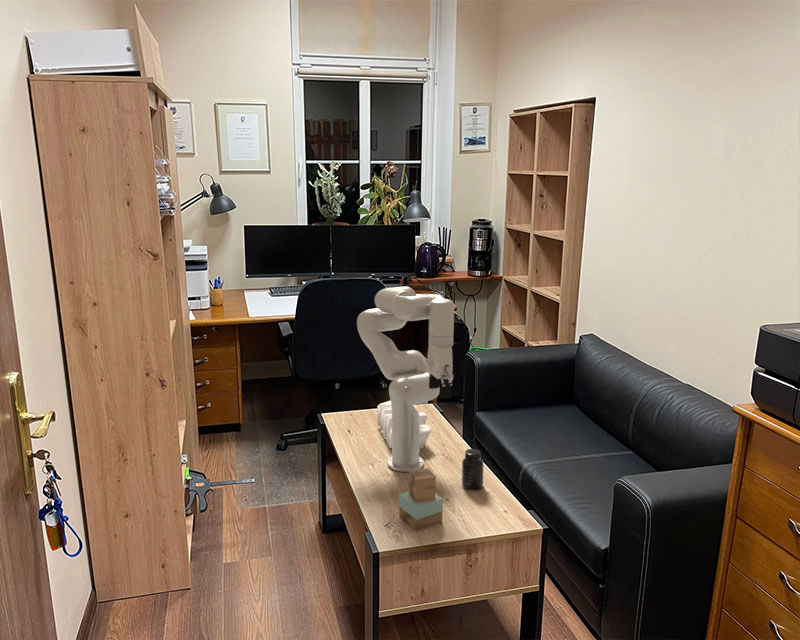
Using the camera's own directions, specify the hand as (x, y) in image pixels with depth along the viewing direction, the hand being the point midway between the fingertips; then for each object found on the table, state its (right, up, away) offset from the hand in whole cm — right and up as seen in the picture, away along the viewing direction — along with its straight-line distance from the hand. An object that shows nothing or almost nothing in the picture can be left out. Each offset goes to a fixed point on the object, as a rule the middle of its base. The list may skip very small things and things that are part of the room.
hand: (439, 393), depth 202 cm
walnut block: (-6, -28, -14) cm, 32 cm away
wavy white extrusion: (-11, -22, +50) cm, 55 cm away
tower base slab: (-6, -36, -12) cm, 38 cm away
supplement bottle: (+11, -31, +9) cm, 34 cm away
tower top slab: (-6, -32, -13) cm, 35 cm away
